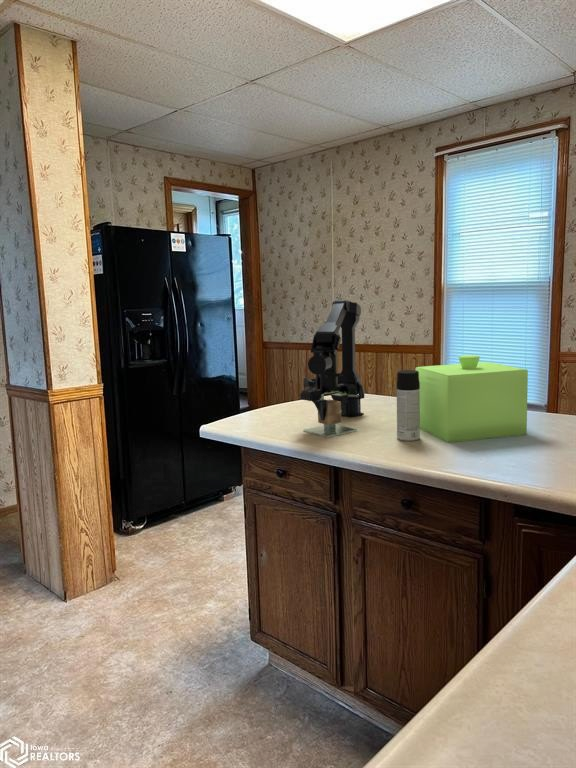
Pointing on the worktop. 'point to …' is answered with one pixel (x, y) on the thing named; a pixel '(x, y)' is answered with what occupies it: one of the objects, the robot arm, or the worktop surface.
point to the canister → (473, 400)
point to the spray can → (408, 405)
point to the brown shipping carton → (331, 413)
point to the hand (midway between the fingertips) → (329, 418)
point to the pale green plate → (329, 430)
